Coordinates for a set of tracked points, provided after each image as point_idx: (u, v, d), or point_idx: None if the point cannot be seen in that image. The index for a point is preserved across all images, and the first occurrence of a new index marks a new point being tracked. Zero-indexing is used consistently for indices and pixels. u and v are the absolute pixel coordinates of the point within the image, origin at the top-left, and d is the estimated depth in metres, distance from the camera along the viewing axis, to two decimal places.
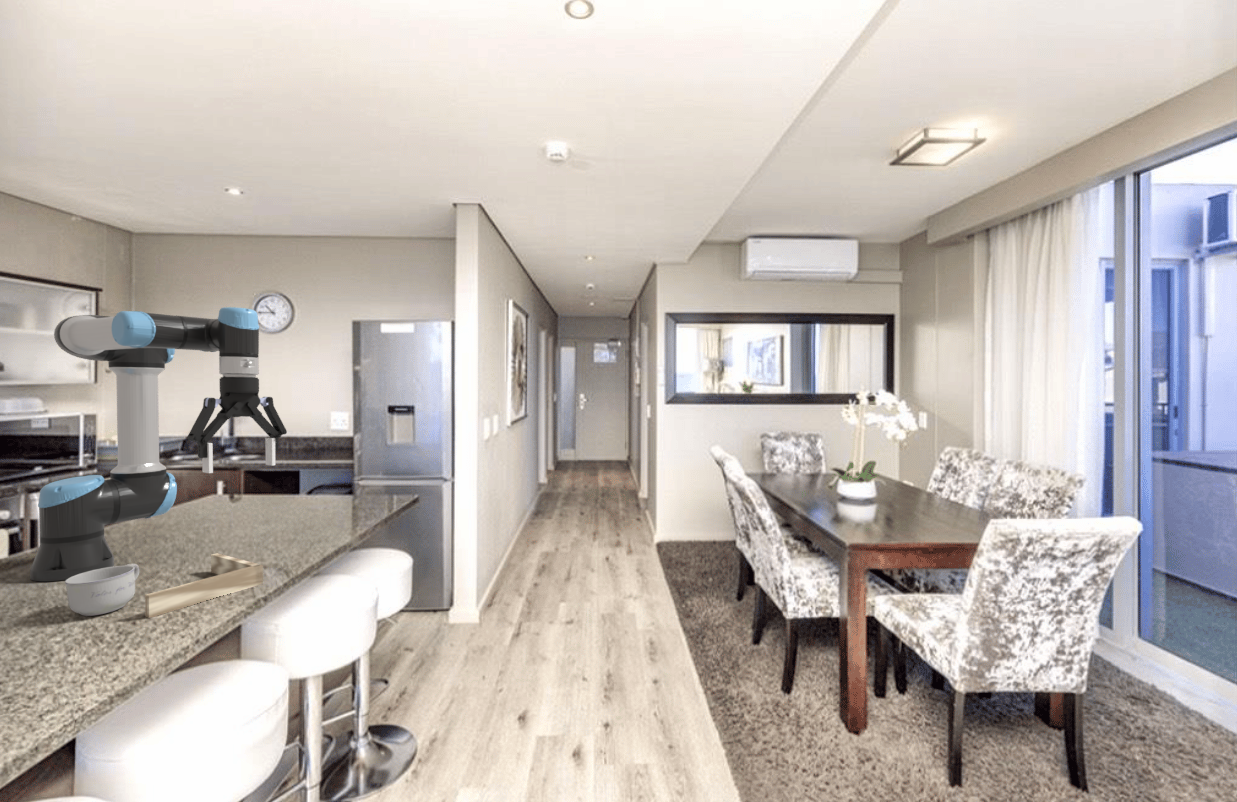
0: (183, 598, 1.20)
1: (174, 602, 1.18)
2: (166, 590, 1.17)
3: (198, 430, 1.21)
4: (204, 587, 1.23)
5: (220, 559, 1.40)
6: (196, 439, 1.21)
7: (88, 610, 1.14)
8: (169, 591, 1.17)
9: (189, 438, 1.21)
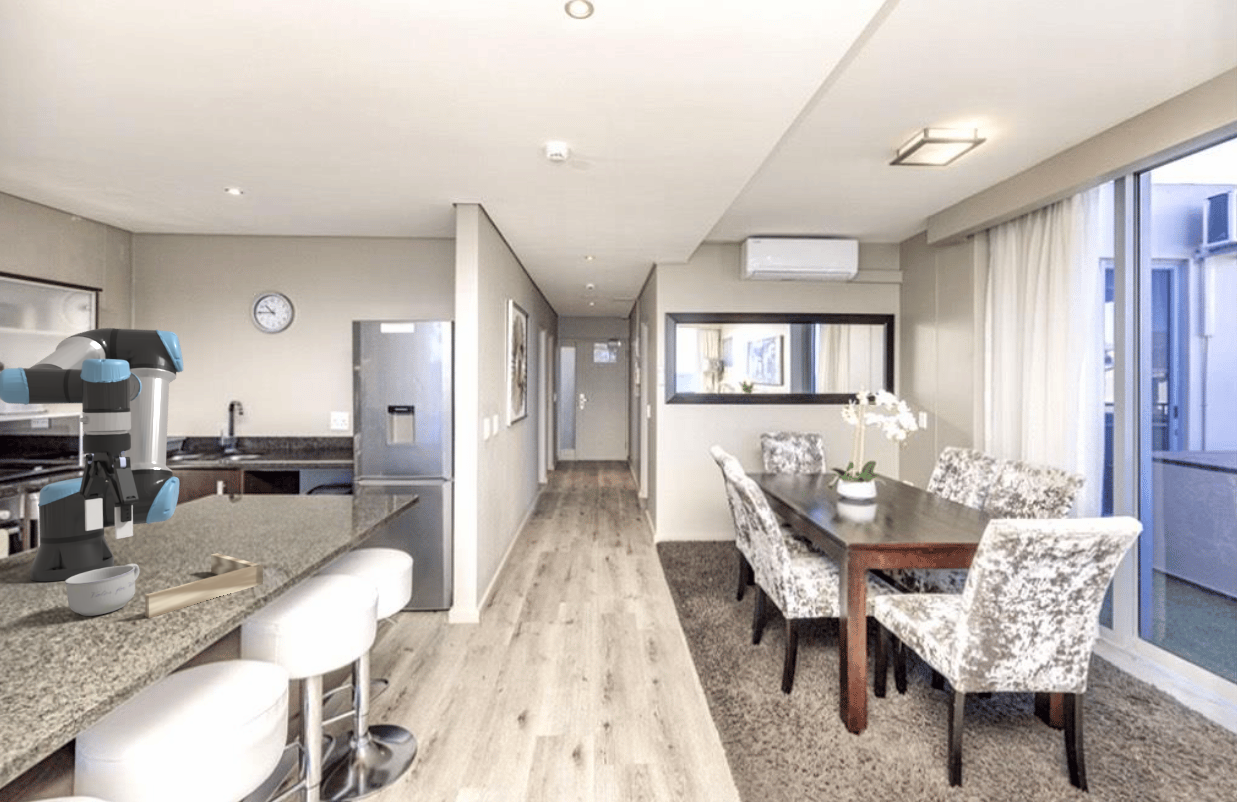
0: (183, 598, 1.20)
1: (174, 602, 1.18)
2: (166, 590, 1.17)
3: (81, 485, 1.22)
4: (204, 587, 1.23)
5: (220, 559, 1.40)
6: (80, 494, 1.22)
7: (88, 610, 1.14)
8: (169, 591, 1.17)
9: None
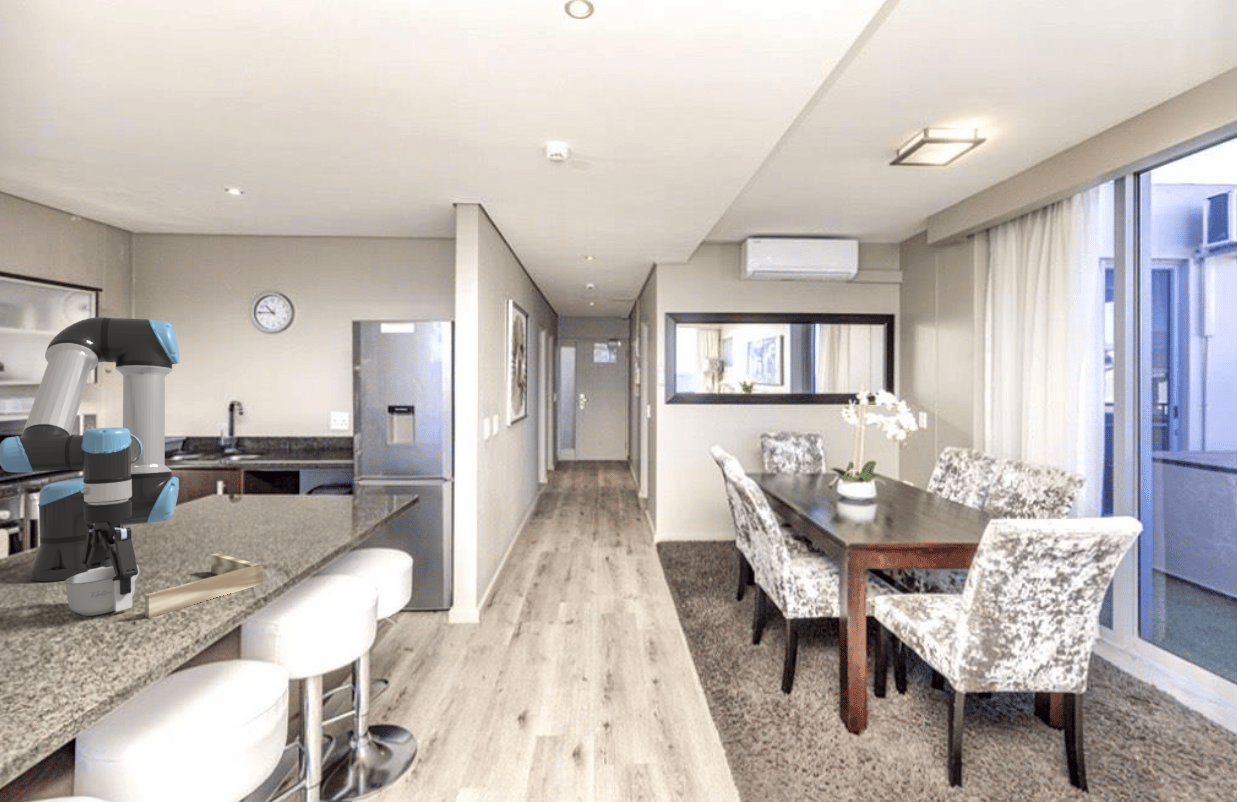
0: (183, 598, 1.20)
1: (174, 602, 1.18)
2: (166, 590, 1.17)
3: (83, 554, 1.22)
4: (204, 587, 1.23)
5: (220, 559, 1.40)
6: (83, 563, 1.22)
7: (88, 610, 1.14)
8: (169, 591, 1.17)
9: None
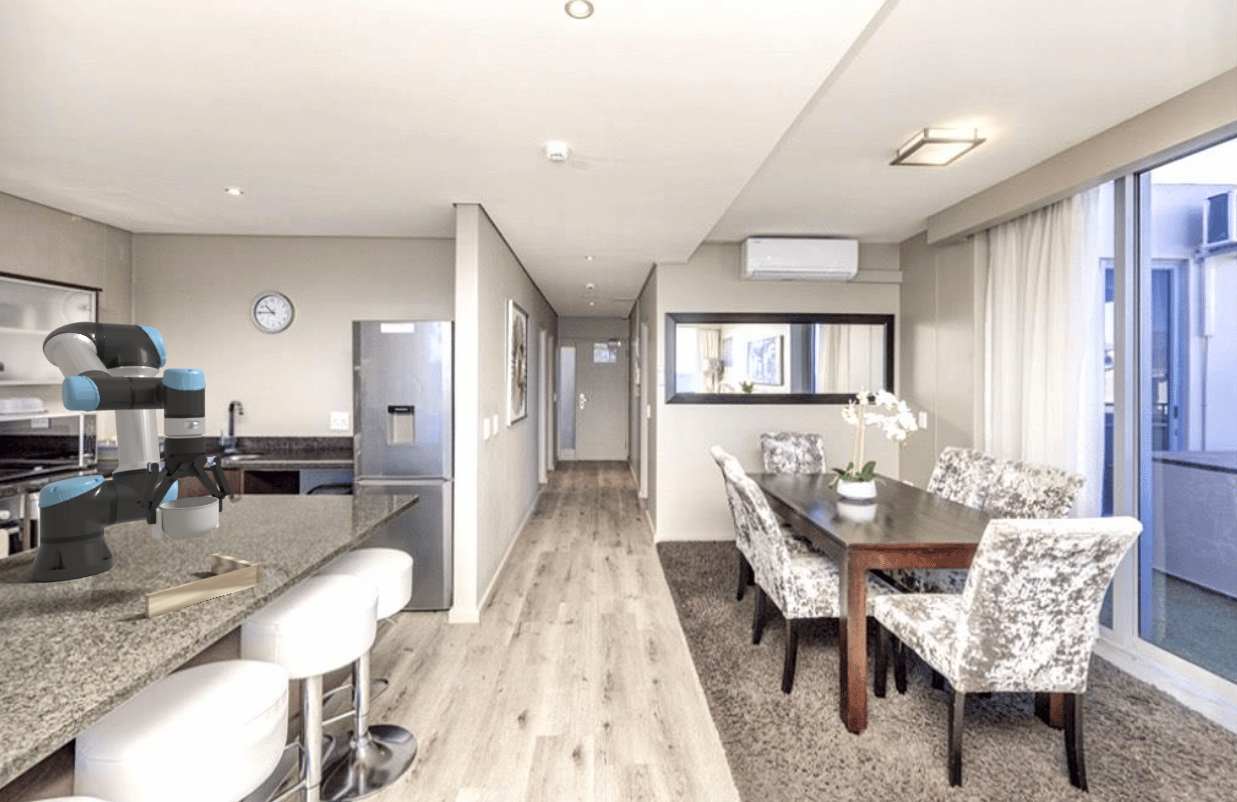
0: (183, 598, 1.20)
1: (174, 602, 1.18)
2: (166, 590, 1.17)
3: (145, 497, 1.21)
4: (204, 587, 1.23)
5: (220, 559, 1.40)
6: (144, 506, 1.21)
7: (215, 526, 1.30)
8: (169, 591, 1.17)
9: (137, 506, 1.21)
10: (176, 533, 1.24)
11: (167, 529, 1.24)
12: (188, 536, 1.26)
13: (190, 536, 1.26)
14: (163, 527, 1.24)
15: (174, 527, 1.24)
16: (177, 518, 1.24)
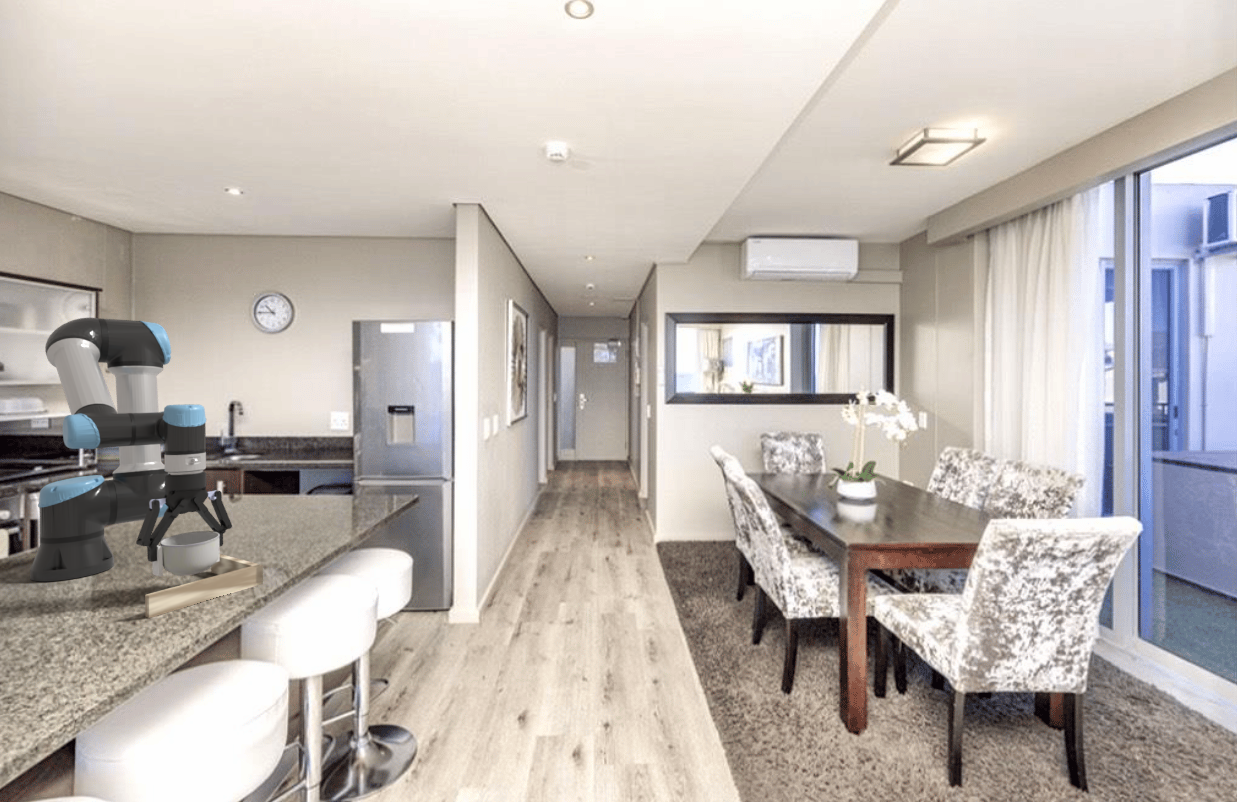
0: (183, 598, 1.20)
1: (174, 602, 1.18)
2: (166, 590, 1.17)
3: (146, 535, 1.22)
4: (204, 587, 1.23)
5: (220, 559, 1.40)
6: (145, 544, 1.21)
7: (215, 561, 1.30)
8: (169, 591, 1.17)
9: (138, 543, 1.22)
10: (177, 570, 1.24)
11: (168, 566, 1.24)
12: (189, 572, 1.26)
13: (191, 572, 1.26)
14: (164, 564, 1.25)
15: (175, 564, 1.24)
16: (178, 554, 1.24)
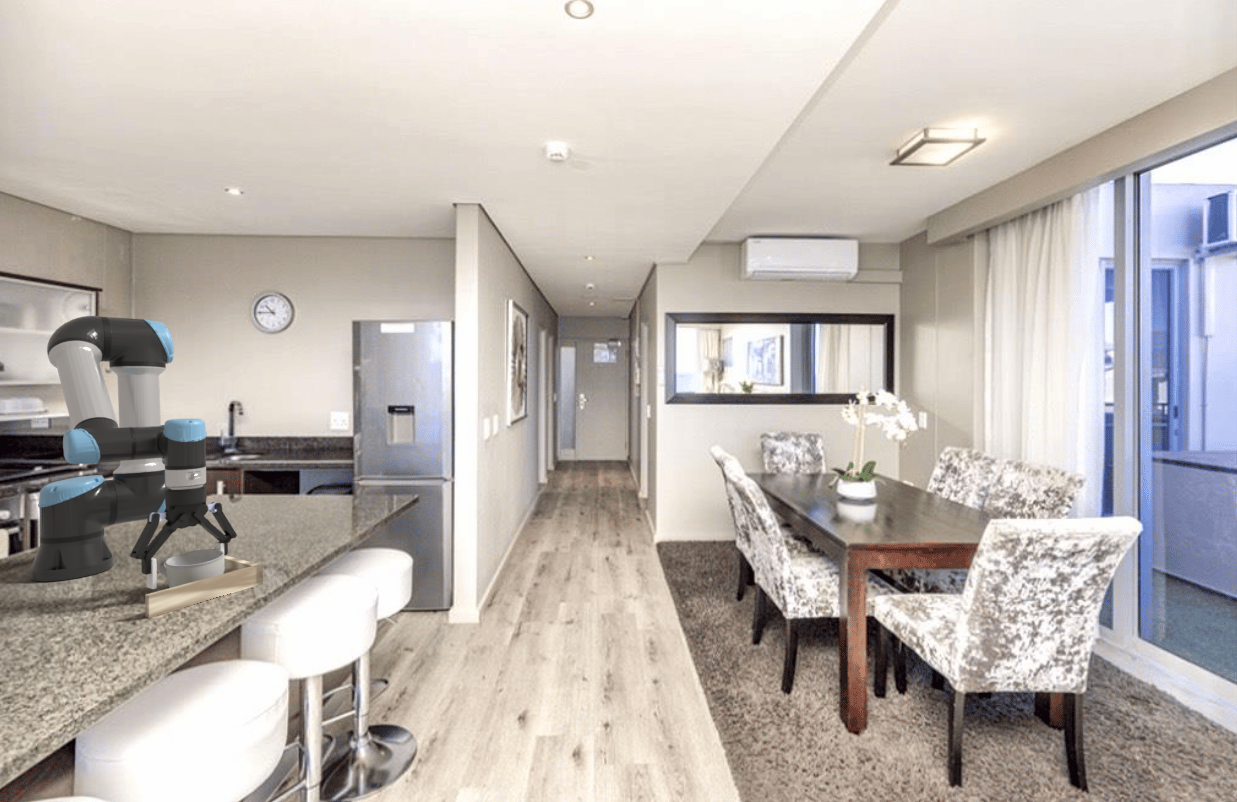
0: (183, 598, 1.20)
1: (174, 602, 1.18)
2: (166, 590, 1.17)
3: (141, 548, 1.21)
4: (204, 587, 1.23)
5: None
6: (139, 557, 1.21)
7: None
8: (169, 591, 1.17)
9: (132, 556, 1.21)
10: None
11: (173, 586, 1.25)
12: None
13: None
14: (169, 583, 1.26)
15: (180, 583, 1.25)
16: (183, 574, 1.25)
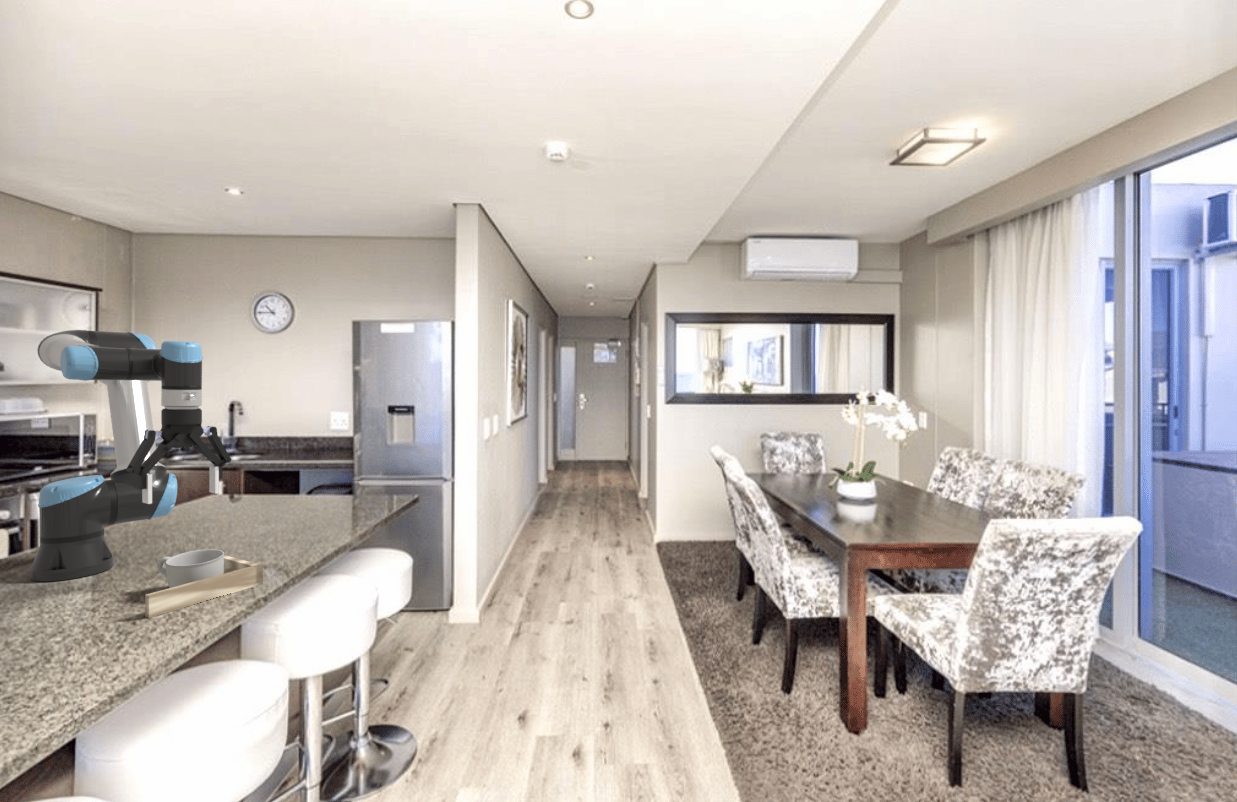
0: (183, 598, 1.20)
1: (174, 602, 1.18)
2: (166, 590, 1.17)
3: (137, 463, 1.24)
4: (204, 587, 1.23)
5: None
6: (135, 471, 1.24)
7: None
8: (169, 591, 1.17)
9: (128, 470, 1.24)
10: None
11: (173, 586, 1.25)
12: None
13: None
14: (169, 583, 1.26)
15: (180, 583, 1.25)
16: (183, 574, 1.25)
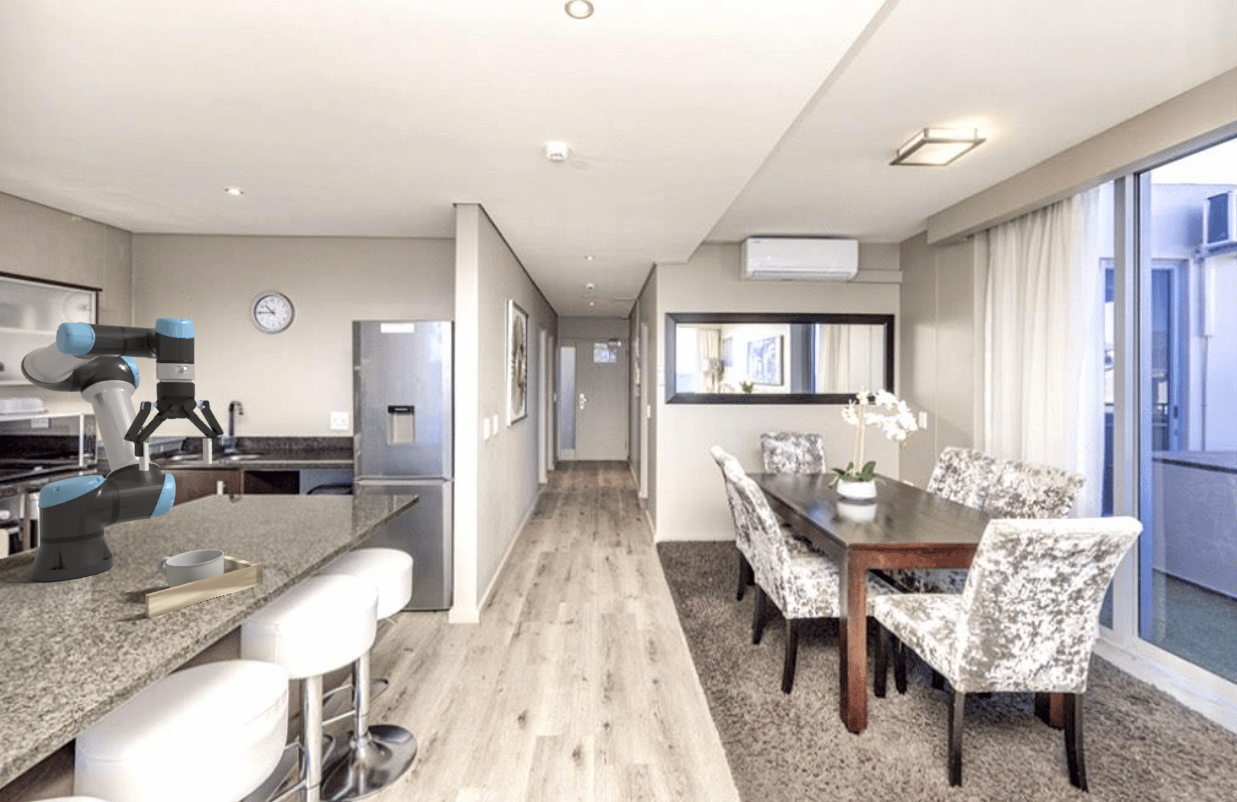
0: (183, 598, 1.20)
1: (174, 602, 1.18)
2: (166, 590, 1.17)
3: (134, 431, 1.32)
4: (204, 587, 1.23)
5: None
6: (132, 439, 1.31)
7: None
8: (169, 591, 1.17)
9: (125, 438, 1.32)
10: None
11: (173, 586, 1.25)
12: None
13: None
14: (169, 583, 1.26)
15: (180, 583, 1.25)
16: (183, 574, 1.25)
